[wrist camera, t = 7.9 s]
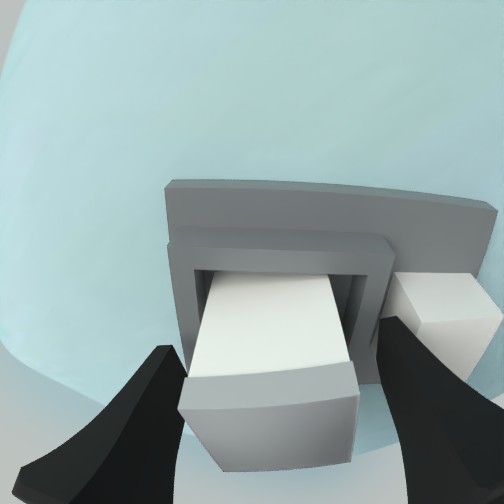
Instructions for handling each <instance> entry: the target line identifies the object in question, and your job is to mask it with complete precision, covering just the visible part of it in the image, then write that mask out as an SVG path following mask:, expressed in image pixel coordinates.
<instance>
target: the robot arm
mask: <svg viewBox="0 0 504 504" xmlns="http://www.w3.org/2000/svg"><path fill="white" fill-rule="evenodd" d="M376 362H377V366H378V371H379V376H380V380H381V384H382V387H383V390H384V393H385V396H386V399H387V402H388V405H389V408H390V412H391V415H392V418H393V421H394V424H395V427H396V430H397V433H398V437H399V441H400V445H401V450H402V456H403V463H404V469H405V477H406V484H407V496H408V504H504V409H502V408H501V407H500V406H498V405H496V404H495V403H493V402H491V401H490V400H488V399H487V398H485V397H484V396H482V395H481V394H480V393H478V392H477V391H475V390H474V389H473V388H471V387H470V386H469V385H467V384H466V383H465V382H464V381H463V380H461V379H460V378H459V377H458V376H457V375H455V374H454V373H453V372H452V371H451V370H450V369H449V368H448V367H446V366H445V365H444V364H443V363H442V362H441V361H440V360H439V359H438V358H437V357H436V356H435V355H434V354H433V353H432V352H431V351H430V350H429V349H428V348H427V347H426V346H425V345H424V344H423V343H422V342H421V341H420V340H419V339H418V338H417V337H416V336H415V335H414V334H413V333H412V331H411V330H410V329H409V328H408V327H407V326H406V325H405V324H404V323H403V322H402V321H401V319H400V318H399V317H397V316H392V317H387V318H381V319H379V331H378V343H377V353H376ZM185 377H188V374H187V373H186V371H185V369H184V367H183V365H182V363H181V361H180V359H179V357H178V355H177V353H176V351H175V349H174V347H173V345H159V346H157V347H156V348H155V349H154V350H153V351H152V353H151V354H150V355H149V356H148V358H147V359H146V360H145V361H144V363H143V364H142V365H141V366H140V368H139V369H138V370H137V371H136V373H135V374H134V375H133V376H132V377H131V379H130V380H129V381H128V382H127V383H126V385H125V386H124V387H123V388H122V389H121V391H120V392H119V393H118V394H117V395H116V396H115V397H114V398H113V399H112V401H111V402H110V403H109V404H108V405H107V406H106V407H105V409H103V410H102V411H101V412H100V413H99V414H98V415H97V416H96V417H95V418H94V419H93V420H92V421H91V422H90V423H89V424H88V425H86V426H85V427H84V428H83V429H82V430H80V431H79V432H78V433H77V434H75V435H74V436H73V437H72V438H70V439H69V440H68V441H66V442H65V443H64V444H62V445H61V446H59V447H58V448H57V449H55V450H53V451H52V452H50V453H48V454H47V455H45V456H43V457H41V458H39V459H37V460H35V461H34V462H31V463H29V464H28V465H26V466H23V467H21V469H20V472H19V475H18V477H17V479H16V482H15V485H14V487H13V490H12V494H13V495H14V496H15V497H17V498H18V499H20V500H21V501H23V502H25V503H26V504H173V493H174V476H175V465H176V459H177V453H178V449H179V445H180V440H181V436H182V431H183V427H184V423H185V420H184V418H183V417H182V415H181V414H180V412H179V411H178V405H179V401H180V396H181V392H182V388H183V384H184V380H185Z"/></svg>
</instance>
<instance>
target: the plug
mask: <svg viewBox="0 0 504 504" xmlns="http://www.w3.org/2000/svg"><path fill="white" fill-rule="evenodd" d="M359 400H360V391H359V386H358V382H357V378H356V373H355V369H354V365H353V361H350V359H349V355H348V350H347V346H346V342H345V338H344V334H343V330H342V326H341V322H340V318H339V315H338V311H337V307H336V303H335V300H334V296H333V292H332V289H331V285H330V281H329V278H328V274H305V273H274V272H246V271H221V272H214V276H213V280H212V284H211V287H210V291H209V295H208V299H207V303H206V307H205V311H204V314H203V318H202V322H201V326H200V330H199V334H198V338H197V342H196V346H195V350H194V354H193V358H192V362H191V367H190V371H189V375H188V377H185V380H184V384H183V388H182V392H181V396H180V401H179V405H178V411H179V412H180V414H181V415H182V417H183V418H184V420H185V421H186V423H187V424H188V425H189V427H190V428H191V430H192V431H193V433H194V434H195V435H196V437H197V438H198V439H199V441H200V442H201V444H202V445H203V446H204V447H205V449H206V450H207V452H208V453H209V454H210V455H211V457H212V458H213V459H214V461H215V462H216V463H217V464H218V466H219V467H220V468H221V469H222V471H223V472H258V471H279V470H292V469H303V468H312V467H320V466H328V465H335V464H341V463H347V462H351V457H352V451H353V445H354V439H355V432H356V425H357V417H358V409H359Z"/></svg>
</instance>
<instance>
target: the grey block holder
mask: <svg viewBox="0 0 504 504" xmlns="http://www.w3.org/2000/svg"><path fill="white" fill-rule="evenodd" d="M164 189H165V200H166V211H167V221H168V231H169V240H170V242H169V244H168V245H167V250H168V258H169V266H170V273H171V280H172V287H173V294H174V300H175V307H176V313H177V319H178V325H179V331H180V336H181V342H182V347H183V353H184V358H185V363H186V368H187V373H188V375H189V371H190V367H191V362H192V358H193V354H194V350H195V346H196V342H197V338H198V334H199V330H200V326H201V322H202V318H203V314H204V311H205V307H206V303H207V299H208V295H209V291H210V287H211V284H212V280H213V276H214V272H221V271H246V272H274V273H305V274H328V278H329V281H330V285H331V289H332V292H333V296H334V300H335V303H336V307H337V311H338V315H339V318H340V322H341V326H342V330H343V334H344V338H345V342H346V346H347V350H348V355H349V359H350V361H353V365H354V369H355V373H356V378H357V382H358V385H360V384H375V383H381V380H380V376H379V371H378V366H377V362H376V353H377V343H378V331H379V319H381V318H387V317H392V316H397V317H399V318H400V319H401V321H402V322H403V323H404V324H405V325H406V326H407V327H408V328H409V329H410V330H411V331H412V333H413V334H414V335H415V336H416V337H417V338H418V339H419V340H420V341H421V342H422V343H423V344H424V345H425V346H426V347H427V348H428V349H429V350H430V351H431V352H432V353H433V354H434V355H435V356H436V357H437V358H438V359H439V360H440V361H441V362H442V363H443V364H444V365H445V366H446V367H448V368H449V369H450V370H451V371H452V372H453V373H454V374H455V375H457V376H458V377H459V378H460V379H461V380H463V381H464V382H466V380H467V379H468V377H469V376H470V374H471V373H472V371H473V370H474V368H475V366H476V365H477V363H478V362H479V360H480V358H481V357H482V355H483V353H484V352H485V350H486V348H487V347H488V345H489V343H490V341H491V340H492V338H493V336H494V334H495V332H496V330H497V329H498V327H499V325H500V323H501V321H502V319H503V317H504V315H503V314H502V312H501V311H500V310H499V308H498V307H497V306H496V304H495V303H494V302H493V300H492V299H491V298H490V297H489V295H488V294H487V293H486V292H485V290H484V289H483V288H482V287H481V285H480V284H479V283H478V282H477V281H476V278H477V275H478V272H479V270H480V267H481V264H482V261H483V258H484V256H485V253H486V250H487V247H488V244H489V240H490V237H491V234H492V231H493V227H494V224H495V220H496V217H497V213H498V210H496V209H495V208H494V207H492V206H491V205H489V204H488V203H487V202H484V201H478V200H471V199H465V198H458V197H451V196H444V195H436V194H428V193H420V192H412V191H403V190H394V189H384V188H374V187H362V186H350V185H337V184H323V183H306V182H286V181H260V180H172V181H171V182H170V183H169V184H168V185H167V186H166V187H165V188H164Z"/></svg>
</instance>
